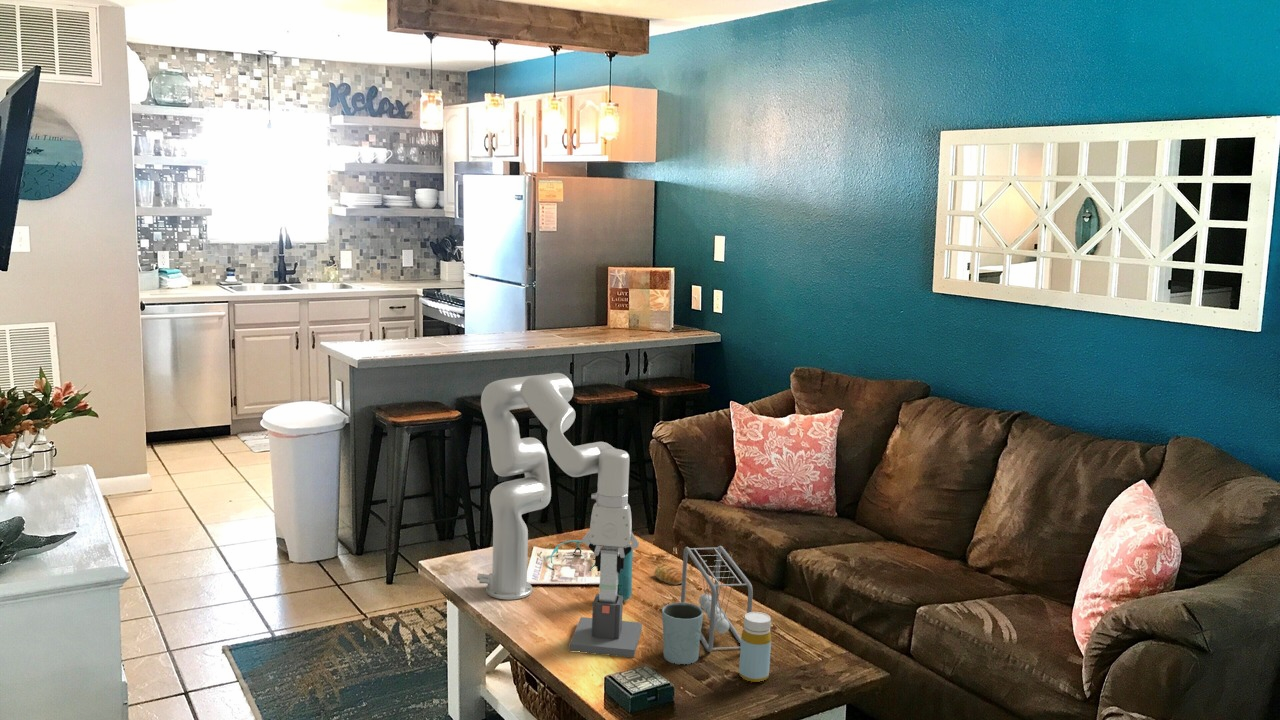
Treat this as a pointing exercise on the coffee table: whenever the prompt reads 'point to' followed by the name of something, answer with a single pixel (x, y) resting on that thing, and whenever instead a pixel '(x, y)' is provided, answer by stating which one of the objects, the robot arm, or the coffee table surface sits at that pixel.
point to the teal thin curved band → (568, 542)
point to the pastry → (668, 574)
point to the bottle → (755, 647)
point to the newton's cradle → (715, 594)
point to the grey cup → (681, 632)
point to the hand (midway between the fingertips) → (609, 569)
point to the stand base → (606, 631)
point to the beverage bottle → (626, 577)
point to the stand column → (608, 575)
